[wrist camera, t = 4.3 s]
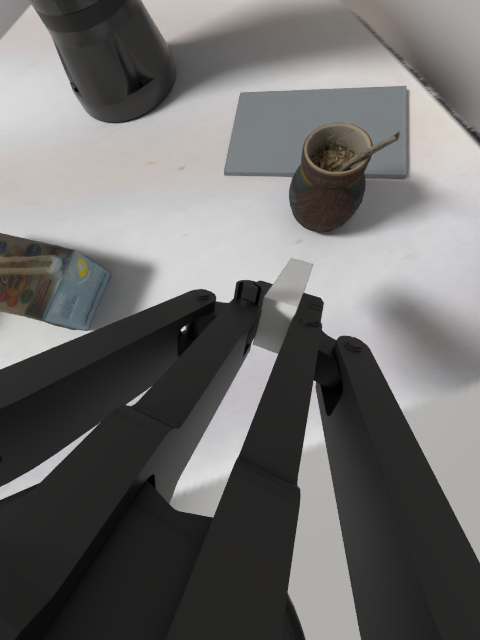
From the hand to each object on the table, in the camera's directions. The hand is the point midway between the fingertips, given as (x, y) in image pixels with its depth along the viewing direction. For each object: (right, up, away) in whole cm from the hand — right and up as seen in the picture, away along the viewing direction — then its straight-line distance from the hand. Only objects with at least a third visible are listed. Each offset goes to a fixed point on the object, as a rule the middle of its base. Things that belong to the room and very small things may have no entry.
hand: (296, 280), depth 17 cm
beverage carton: (-29, +1, +14) cm, 32 cm away
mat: (+5, +20, +14) cm, 25 cm away
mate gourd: (+5, +9, +11) cm, 15 cm away
